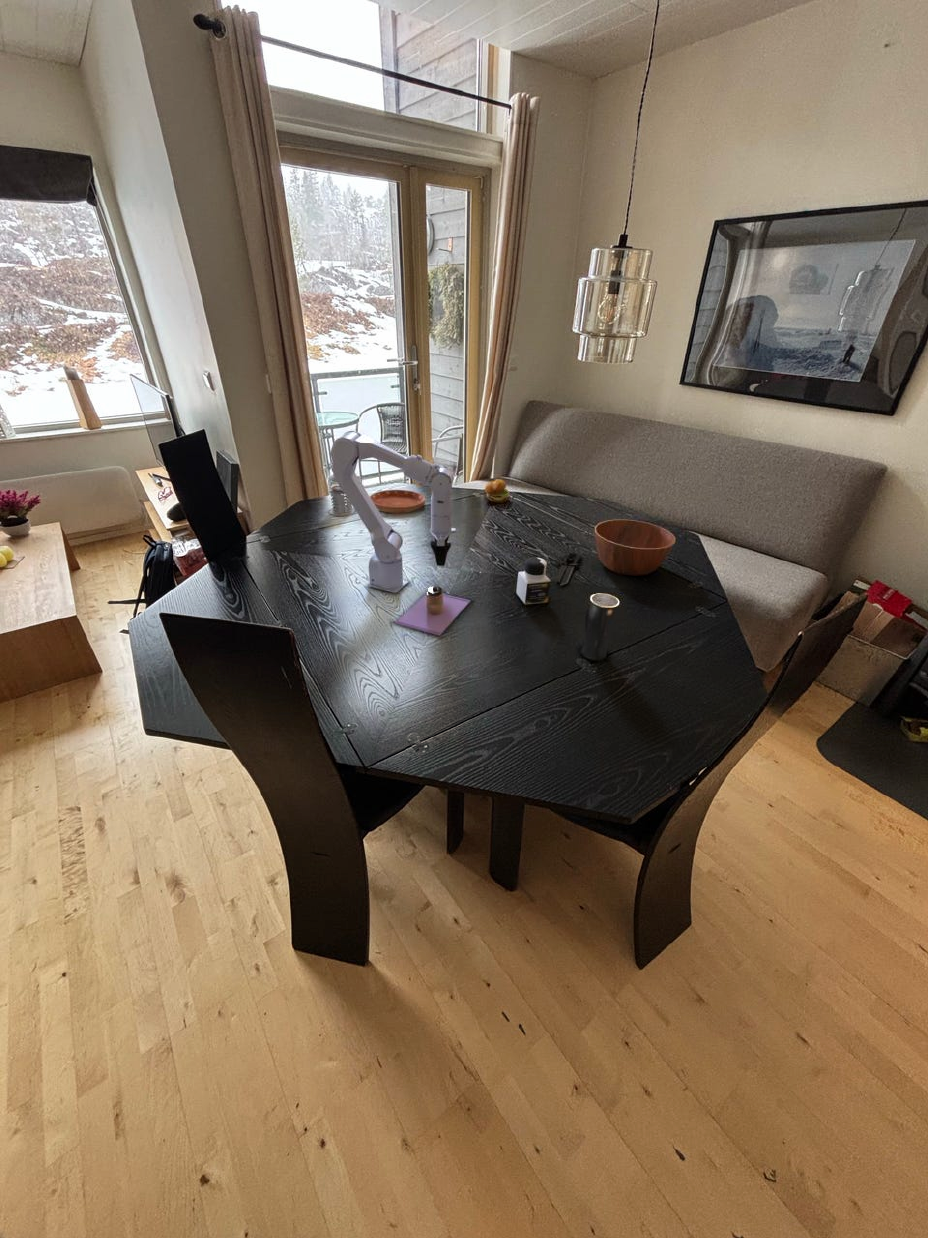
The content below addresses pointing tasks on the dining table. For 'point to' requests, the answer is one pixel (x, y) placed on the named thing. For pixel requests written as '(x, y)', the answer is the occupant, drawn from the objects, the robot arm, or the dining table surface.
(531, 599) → the medicine bottle
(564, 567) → the knife
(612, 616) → the beer glass
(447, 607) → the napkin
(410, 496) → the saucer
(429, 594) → the salt mill
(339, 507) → the french press
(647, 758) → the dining table surface
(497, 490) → the cheeseburger
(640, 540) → the bowl
